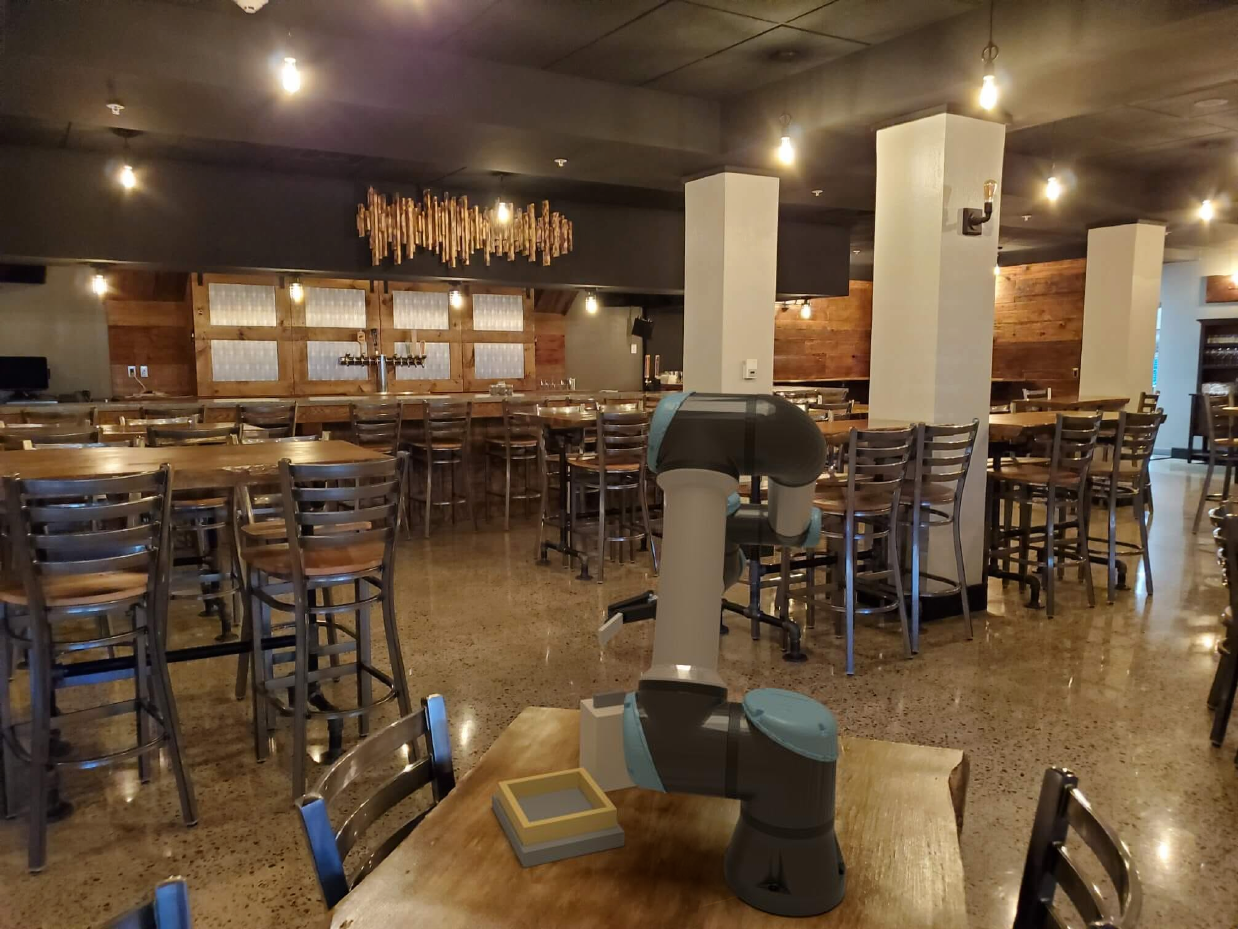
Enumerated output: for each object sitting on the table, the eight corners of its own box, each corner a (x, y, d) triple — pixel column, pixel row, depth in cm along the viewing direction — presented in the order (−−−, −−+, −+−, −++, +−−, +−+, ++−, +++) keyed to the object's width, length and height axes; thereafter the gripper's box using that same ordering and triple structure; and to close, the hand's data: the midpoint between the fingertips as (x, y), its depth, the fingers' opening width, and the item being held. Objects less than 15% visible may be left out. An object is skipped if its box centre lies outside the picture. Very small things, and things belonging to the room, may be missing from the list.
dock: (624, 845, 114) (624, 814, 113) (523, 867, 108) (523, 834, 108) (582, 790, 129) (583, 762, 128) (492, 807, 123) (492, 778, 123)
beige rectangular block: (637, 785, 130) (639, 698, 129) (595, 793, 128) (596, 704, 126) (620, 765, 137) (621, 682, 135) (579, 773, 134) (580, 687, 133)
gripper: (759, 628, 148) (706, 691, 131) (636, 595, 160) (572, 648, 143) (760, 589, 145) (706, 648, 128) (635, 559, 158) (570, 609, 141)
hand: (635, 649), depth 136 cm, fingers open, 13 cm apart
